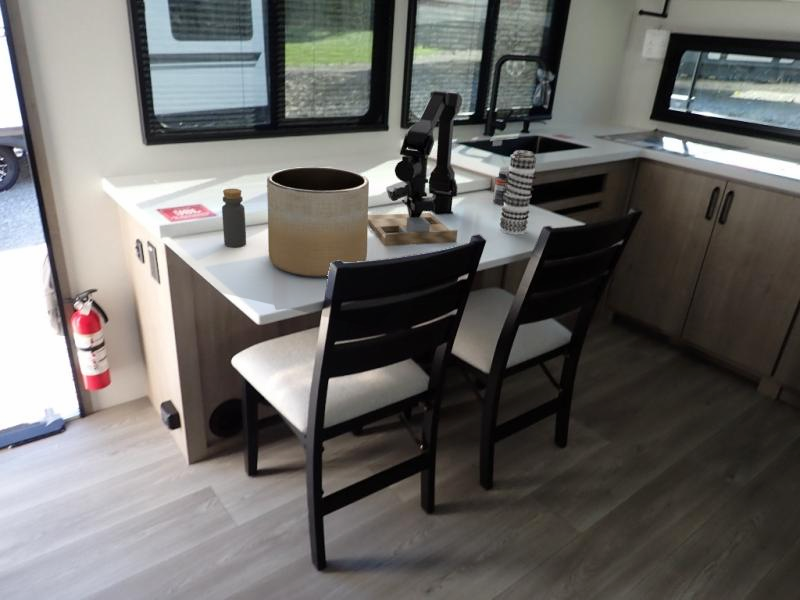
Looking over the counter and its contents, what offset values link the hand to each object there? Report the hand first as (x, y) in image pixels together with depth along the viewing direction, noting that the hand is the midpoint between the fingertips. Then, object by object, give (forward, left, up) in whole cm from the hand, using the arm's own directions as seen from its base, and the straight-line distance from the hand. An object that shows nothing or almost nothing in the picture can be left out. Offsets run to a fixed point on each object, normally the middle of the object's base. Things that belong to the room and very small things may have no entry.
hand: (412, 225), depth 177 cm
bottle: (+52, +1, -3) cm, 52 cm away
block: (0, +5, -1) cm, 5 cm away
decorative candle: (-34, +1, -3) cm, 34 cm away
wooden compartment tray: (0, -3, -3) cm, 4 cm away
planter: (+32, +17, -3) cm, 36 cm away
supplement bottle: (-45, -29, -3) cm, 54 cm away
